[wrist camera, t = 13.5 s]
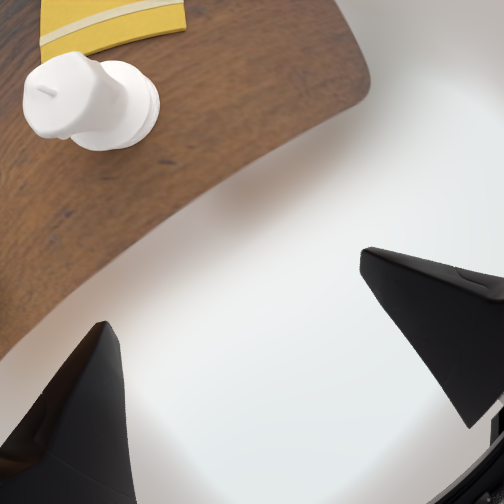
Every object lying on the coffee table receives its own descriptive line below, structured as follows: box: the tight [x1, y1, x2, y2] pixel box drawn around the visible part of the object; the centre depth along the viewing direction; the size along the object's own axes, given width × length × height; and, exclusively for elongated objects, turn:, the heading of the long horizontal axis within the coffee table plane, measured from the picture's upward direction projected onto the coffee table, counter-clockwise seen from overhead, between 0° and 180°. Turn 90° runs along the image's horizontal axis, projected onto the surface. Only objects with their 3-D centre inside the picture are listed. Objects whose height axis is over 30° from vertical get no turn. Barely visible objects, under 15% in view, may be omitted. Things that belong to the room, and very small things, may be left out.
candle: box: [23, 51, 160, 151], centre depth 10 cm, size 5×5×12 cm
